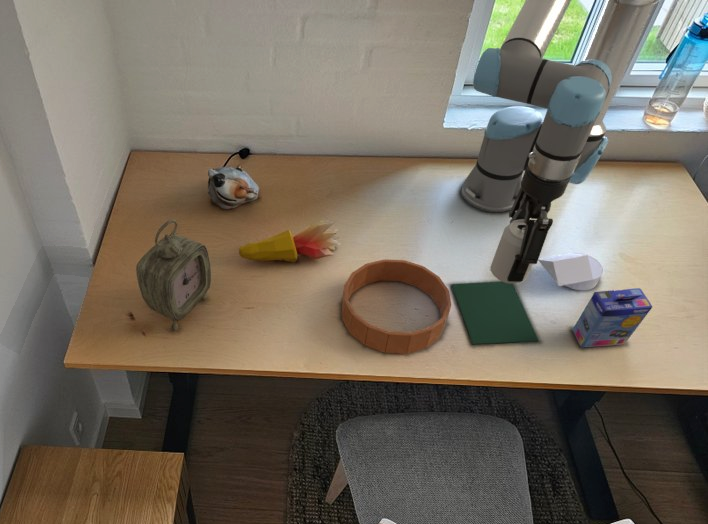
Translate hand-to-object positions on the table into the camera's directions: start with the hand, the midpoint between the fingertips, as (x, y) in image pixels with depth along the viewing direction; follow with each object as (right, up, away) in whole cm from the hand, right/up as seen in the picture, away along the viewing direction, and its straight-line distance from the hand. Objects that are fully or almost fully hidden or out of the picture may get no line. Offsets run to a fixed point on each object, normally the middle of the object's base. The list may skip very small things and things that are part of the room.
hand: (510, 266), depth 123 cm
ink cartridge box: (+21, -15, +5) cm, 26 cm away
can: (0, -1, +2) cm, 2 cm away
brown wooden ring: (-22, -9, +11) cm, 26 cm away
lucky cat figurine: (-58, +22, +40) cm, 74 cm away
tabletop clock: (-70, -8, +14) cm, 72 cm away
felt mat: (0, -9, +11) cm, 14 cm away
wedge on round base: (+20, -1, +17) cm, 27 cm away
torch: (-44, +6, +25) cm, 51 cm away
